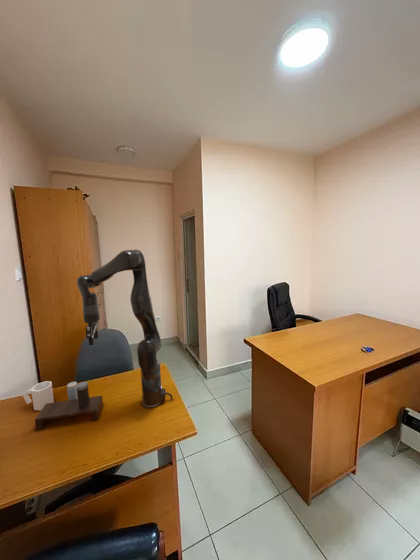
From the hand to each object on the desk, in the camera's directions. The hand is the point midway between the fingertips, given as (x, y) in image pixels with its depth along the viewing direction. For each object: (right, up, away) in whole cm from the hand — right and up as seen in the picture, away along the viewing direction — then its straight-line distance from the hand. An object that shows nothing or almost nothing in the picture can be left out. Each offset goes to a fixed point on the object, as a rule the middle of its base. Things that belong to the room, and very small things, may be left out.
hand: (93, 341), depth 121 cm
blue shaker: (-5, -28, -10) cm, 30 cm away
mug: (-21, -28, -11) cm, 37 cm away
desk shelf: (0, -29, -19) cm, 35 cm away
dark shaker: (+5, -24, -18) cm, 30 cm away
